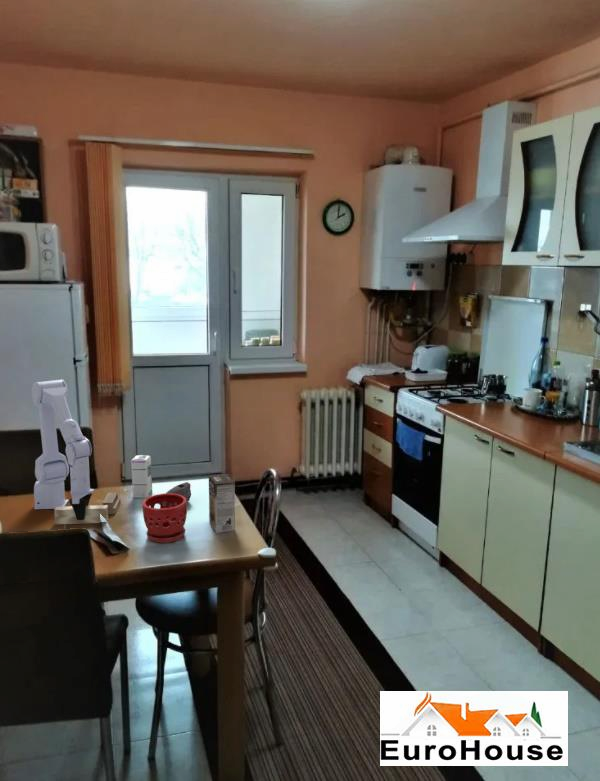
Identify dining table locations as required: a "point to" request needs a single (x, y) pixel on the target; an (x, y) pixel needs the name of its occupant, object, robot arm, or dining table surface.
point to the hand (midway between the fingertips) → (81, 517)
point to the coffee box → (221, 503)
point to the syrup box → (141, 476)
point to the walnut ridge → (112, 502)
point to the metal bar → (91, 514)
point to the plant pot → (165, 517)
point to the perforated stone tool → (181, 491)
